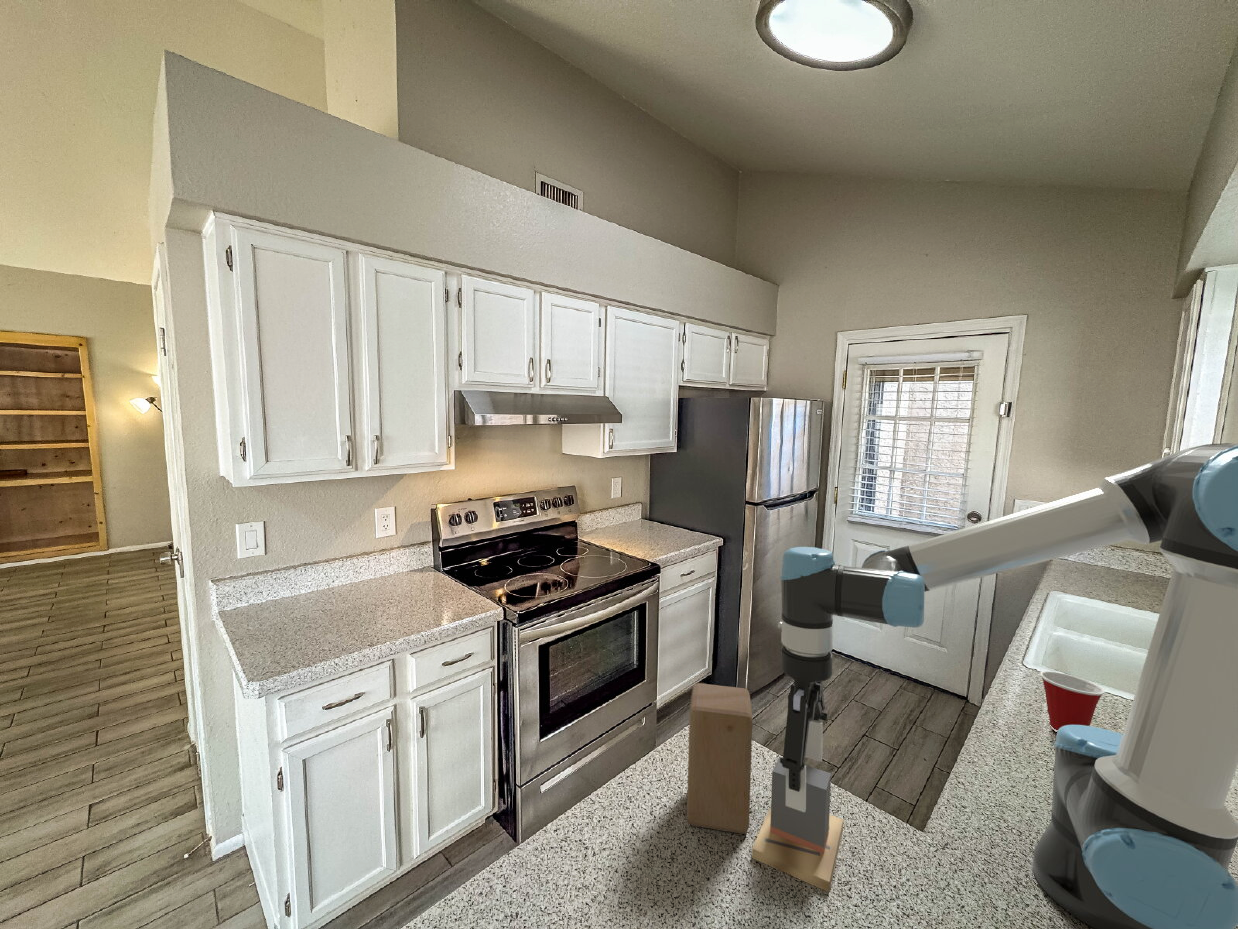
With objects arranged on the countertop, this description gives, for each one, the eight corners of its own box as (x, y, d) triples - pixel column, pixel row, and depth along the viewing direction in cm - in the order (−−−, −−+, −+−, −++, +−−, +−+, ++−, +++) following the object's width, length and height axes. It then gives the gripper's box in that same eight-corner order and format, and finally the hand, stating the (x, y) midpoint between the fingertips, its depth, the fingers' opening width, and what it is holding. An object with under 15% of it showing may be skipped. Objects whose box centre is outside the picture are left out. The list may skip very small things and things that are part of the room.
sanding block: (828, 834, 80) (831, 773, 80) (823, 854, 76) (826, 790, 76) (777, 814, 84) (779, 756, 84) (770, 832, 81) (772, 771, 80)
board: (842, 828, 84) (843, 819, 84) (829, 892, 72) (829, 882, 72) (775, 802, 89) (775, 794, 89) (752, 858, 77) (752, 848, 77)
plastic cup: (1114, 743, 110) (1118, 688, 109) (1079, 750, 107) (1082, 695, 106) (1058, 716, 120) (1061, 666, 119) (1025, 723, 117) (1028, 672, 116)
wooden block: (749, 838, 81) (753, 716, 80) (686, 827, 83) (689, 708, 82) (746, 795, 91) (749, 686, 90) (690, 787, 93) (692, 680, 92)
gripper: (798, 620, 92) (797, 735, 92) (760, 673, 70) (759, 822, 71) (843, 627, 88) (842, 748, 89) (817, 686, 66) (815, 844, 67)
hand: (805, 781), depth 80 cm, fingers open, 13 cm apart
